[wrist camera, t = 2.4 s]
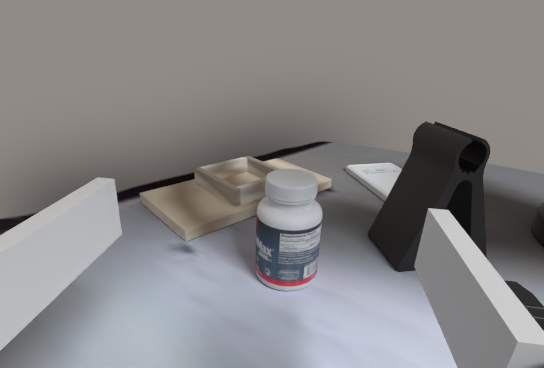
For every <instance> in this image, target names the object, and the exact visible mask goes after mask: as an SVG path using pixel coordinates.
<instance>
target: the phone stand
mask: <svg viewBox="0 0 544 368" xmlns="http://www.w3.org/2000/svg"><path fill="white" fill-rule="evenodd" d="M489 155H490V146H489V144H488V142H487V141H486V140H484V139H482V138H479V137H477V136H474V135H471V134H468V133H466V132H463V131H460V130H457V129H455V128H451V127H449V126H446V125H443V124H441V123H438V122H435V123H434V124H431V123H428V122H424V123H423V124H421V125H420V126H419V127H418V128H417V130H416V131H415V133H414V136H413V146H412V150H411V153H410V156H409V158H408V160H407V161H406V163H405V165H404V167H403V169H402V171H401V173H400V174H399V176H398V178H397V180H396V182H395V184H394V186H393V187H392V189H391V191H390V193H389V195H388V197H387V199H386V201H385V202H384V204H383V206H382V208H381V210H380V212H379V214H378V215H377V217H376V219H375V221H374V223H373V225H372V227H371V228H370V230H369V232H368V236H369V237H370V238H371V239H372V240H373V242H374V243H375V244H376V245H377V246H378V248H379V249H380V250H381V251H382V252H383V254H384V255H385V256H386V257H387V258H388V260H389V261H390V262H391V263H392V264H393V265H394V267H395V268H396V269H397V270H398V271H399V272H403V271H414V270H416V269H415V267H414V265H415V260H416V256H417V252H418V248H419V244H420V240H421V236H422V232H423V228H424V223H425V219H426V215H427V211H428V208H432V209H443V210H449V211H450V213H451V214H452V215H453V216H454V218H455V219H456V220H457V222H458V223H459V224H460V225H461V227H462V228H463V229H464V230H465V232H466V233H467V234H468V236H469V237H470V238H471V239H472V241H473V242H474V243H475V244H476V246H477V247H478V248H479V249H480V251H481V252H482V253H483V255H484V256H485V257H486V235H485V213H484V191H483V173H484V168H485V165H486V163H487V160H488V158H489Z"/></svg>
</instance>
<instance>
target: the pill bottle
mask: <svg viewBox="0 0 544 368" xmlns="http://www.w3.org/2000/svg"><path fill="white" fill-rule="evenodd" d="M317 189H318V179H317V177H316V176H315V175H314V174H312V173H310V172H308V171H304V170H299V169H278V170H274V171H272V172H270V173H268V174H267V176H266V183H265V194H266V197H264V198H263V199H262V200H261V201H260V203H259V204H258V207H257V219H256V274H257V276H258V278H259V279H260V280H261V281H262V282H263V283H264V284H265V285H267V286H269V287H271V288H273V289H276V290H281V291H295V290H300V289H303V288H305V287H307V286H308V285H310V284H311V283H312V282H313V281H314V279H315V277H316V273H317V264H318V255H319V244H320V235H321V226H322V208H321V206H320V205H319V203H318V202H317V201H316V200H315V198H316V195H317Z"/></svg>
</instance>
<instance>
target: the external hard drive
mask: <svg viewBox="0 0 544 368" xmlns="http://www.w3.org/2000/svg"><path fill="white" fill-rule="evenodd" d="M401 171H402V169H401V168H399V167H397V166H396V165H394V164H392V163H376V164H359V165H348V166H346V172H348V173H349V174H350V175H351V176H353V177H354V178H355V179H357V180H358V181H359V182H360V183H362V184H363V185H364V186H365V187H367V188H368V189H369V190H371V191H372V192H373V193H374V194H376V195H377V196H378V197H380V198H381V199H382V200H383V201H386V199H387V197H388V195H389V193H390V191H391V189H392V187H393V186H394V184H395V182H396V180H397V178H398V176H399V174H400V173H401Z"/></svg>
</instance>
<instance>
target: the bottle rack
mask: <svg viewBox="0 0 544 368" xmlns="http://www.w3.org/2000/svg"><path fill="white" fill-rule="evenodd" d="M278 169H299V170H304V171H308V172H310V173H312V174H314V175H315V176H316V177H317V179H318V189H317V192H320V191H322V190H325V189H328V188H331V180H332V179H329V178H327V177H324V176H322V175H319V174H316V173H314V172H311V171H309V170H306V169H304V168H301V167H298V166H296V165H293V164H291V163H288V162H285V161H283V160H280V159H278V158H277V159H273V160H269V161H265V162H262V161H259V160H257V159H255V158H252V157H250V156H246V157H242V158H238V159H233V160H229V161H225V162H220V163H216V164H212V165H207V166H203V167H199V168H194V172H195V179H193V180H189V181H185V182H182V183H178V184H174V185H170V186H166V187H162V188H158V189H154V190H150V191H146V192H142V193H140V200H141V203H142V204H143V205H145V206H146V207H147V208H148V209H149V210H150V211H151V212H153V213H154V214H155V215H156V216H157V217H158V218H160V219H161V220H162V221H163V222H164V223H165V224H167V225H168V226H169V227H170V228H171V229H172V230H173V231H175V232H176V233H177V234H178V235H179V236H180V237H182V238H183V239H184V240H185V241H188V240H191V239H194V238H196V237H199V236H202V235H204V234H207V233H210V232H213V231H215V230H218V229H221V228H223V227H226V226H229V225H231V224H234V223H237V222H239V221H242V220H245V219H247V218H250V217H253V216H255V215H257V207H258V204H259V203H260V201H261V200H262V199H263V198H264V197H266V194H265V183H266V176H267V174H268V173H270V172H272V171H274V170H278Z"/></svg>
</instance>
